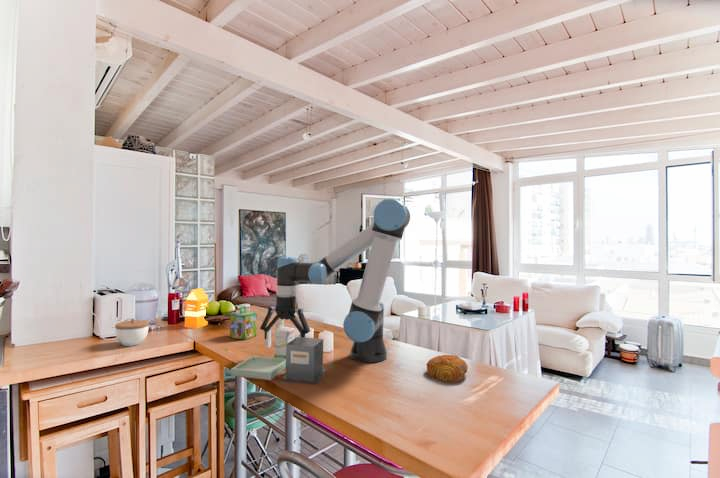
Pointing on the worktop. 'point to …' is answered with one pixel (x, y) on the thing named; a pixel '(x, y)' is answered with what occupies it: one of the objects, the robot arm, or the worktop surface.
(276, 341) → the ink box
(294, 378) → the unit
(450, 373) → the brown rounded lump
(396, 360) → the worktop surface
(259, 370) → the tray
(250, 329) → the floral tea caddy
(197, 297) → the orange juice
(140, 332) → the lidded bowl
